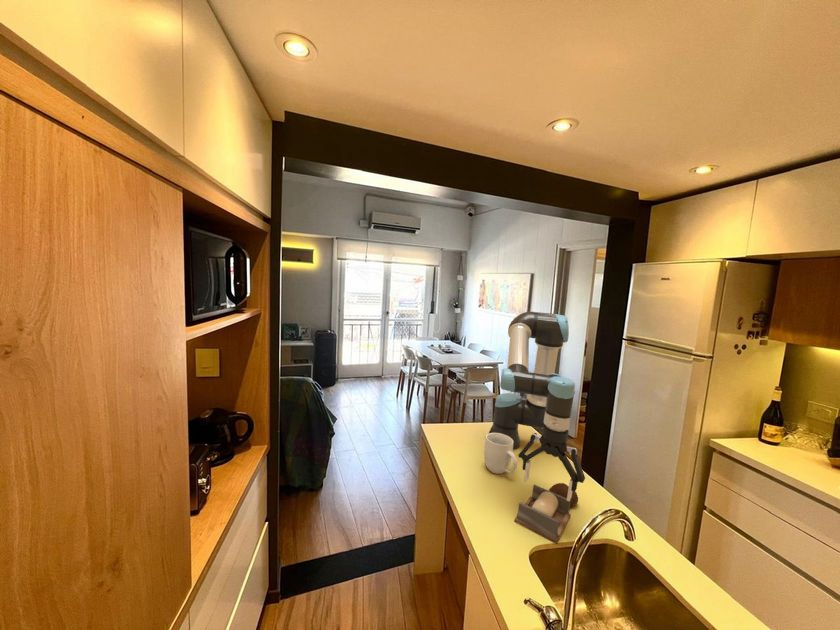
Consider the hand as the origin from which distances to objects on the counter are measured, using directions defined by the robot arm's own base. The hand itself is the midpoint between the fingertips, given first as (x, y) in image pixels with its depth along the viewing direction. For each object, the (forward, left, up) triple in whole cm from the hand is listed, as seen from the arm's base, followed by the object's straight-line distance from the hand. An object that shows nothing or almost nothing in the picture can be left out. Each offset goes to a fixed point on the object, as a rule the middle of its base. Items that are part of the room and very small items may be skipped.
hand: (546, 489), depth 108 cm
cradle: (0, 0, -10) cm, 10 cm away
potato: (-13, +3, -10) cm, 17 cm away
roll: (+1, +1, -9) cm, 9 cm away
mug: (-16, -23, -10) cm, 29 cm away
